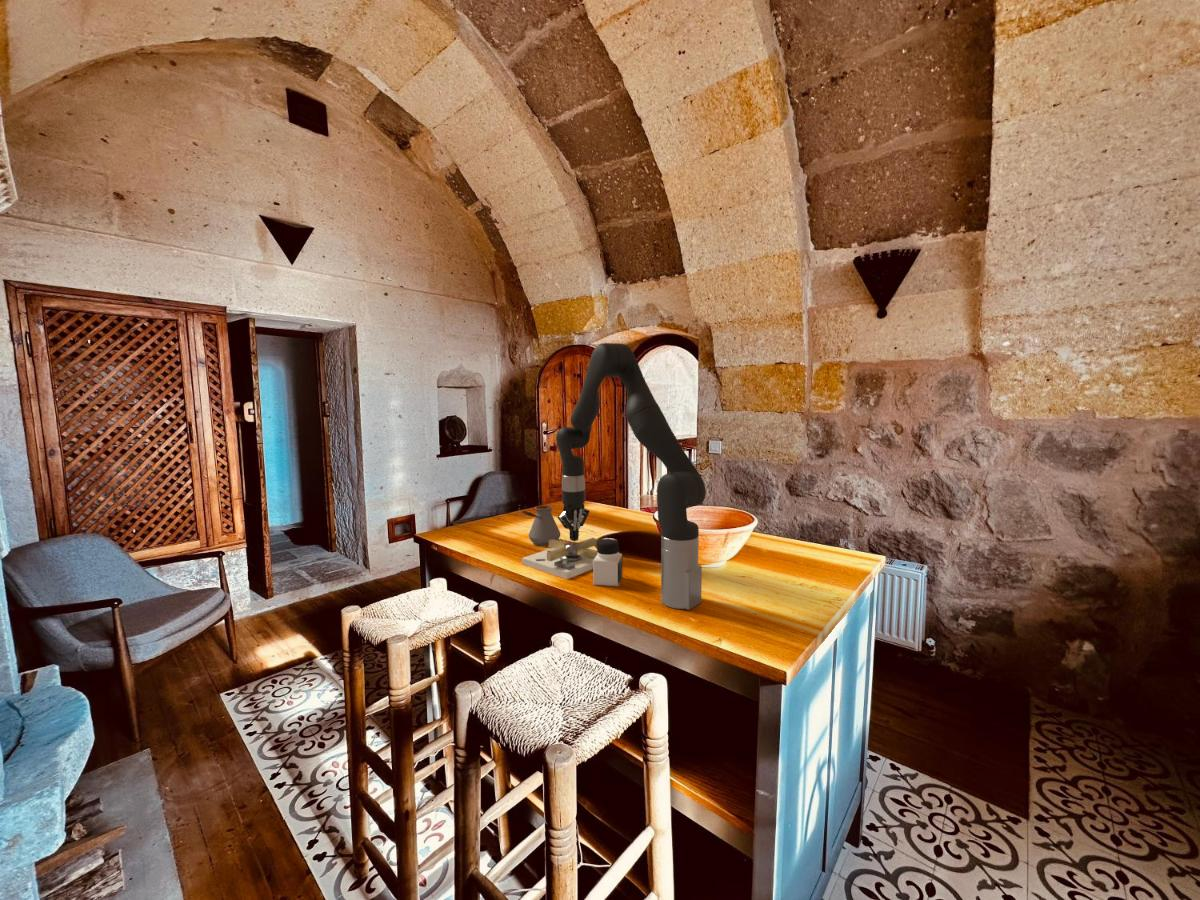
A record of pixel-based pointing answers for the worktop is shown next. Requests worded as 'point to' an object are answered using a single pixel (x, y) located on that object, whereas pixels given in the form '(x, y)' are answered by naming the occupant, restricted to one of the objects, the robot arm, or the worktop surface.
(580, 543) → the cam capstan
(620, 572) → the medicine bottle
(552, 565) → the board
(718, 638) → the worktop surface
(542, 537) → the coffee pot
